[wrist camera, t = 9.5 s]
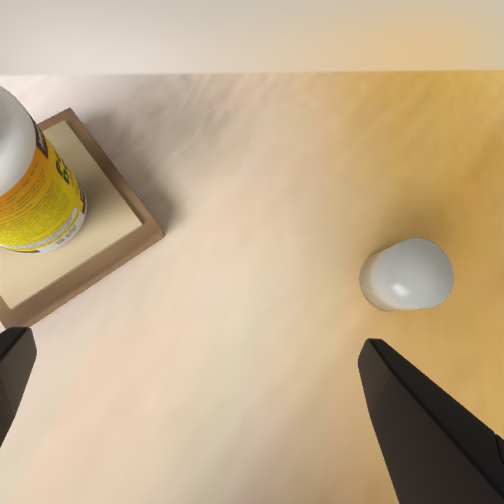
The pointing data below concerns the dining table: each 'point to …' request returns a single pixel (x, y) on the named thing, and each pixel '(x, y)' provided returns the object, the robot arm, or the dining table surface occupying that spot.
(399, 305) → the white rounded knob
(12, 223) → the supplement bottle
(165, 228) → the dining table surface
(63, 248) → the tan flat square block
